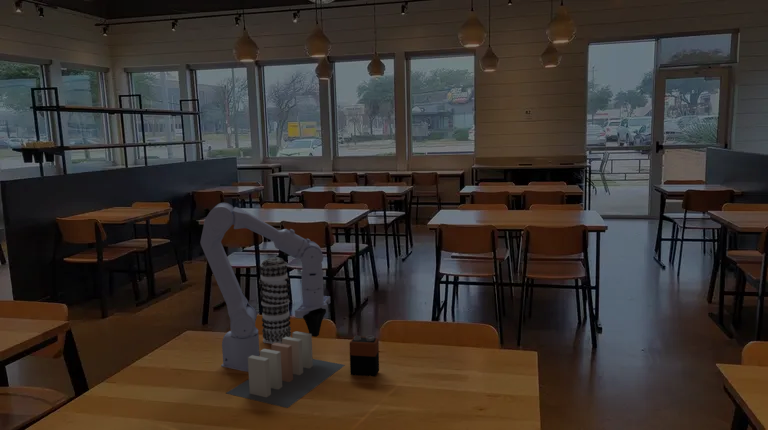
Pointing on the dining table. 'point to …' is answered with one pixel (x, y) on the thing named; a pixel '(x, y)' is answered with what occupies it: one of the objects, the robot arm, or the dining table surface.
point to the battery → (364, 356)
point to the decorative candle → (274, 300)
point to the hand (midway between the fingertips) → (314, 335)
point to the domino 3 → (285, 360)
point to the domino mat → (292, 385)
